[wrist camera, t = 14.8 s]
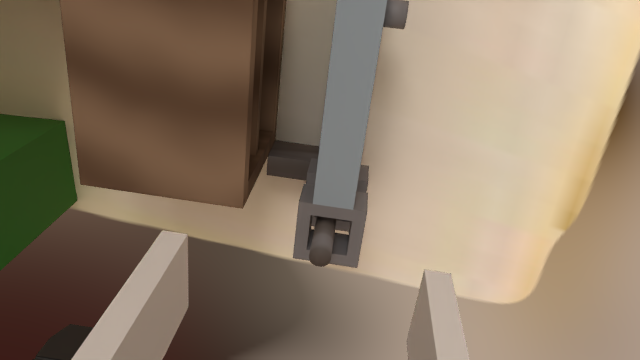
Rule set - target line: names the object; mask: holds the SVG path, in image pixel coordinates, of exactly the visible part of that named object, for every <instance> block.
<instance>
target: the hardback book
mask: <svg viewBox="0 0 640 360" xmlns="http://www.w3.org/2000/svg"><path fill="white" fill-rule="evenodd" d="M76 201H77V195H76V189H75V183H74V177H73V170H72V164H71V158H70V152H69V146H68V140H67V134H66V127H65V121H61V120H52V119H42V118H33V117H23V116H13V115H4V114H0V270H1V269H3V268H4V267H5V266H6V265H7V264H8V263H9V262H10V261H11V260H12V259H13V258H15V257H16V256H17V255H18V254H19V253H20V252H21V251H22V250H23V249H24V248H26V247H27V246H28V245H29V244H30V243H31V242H32V241H33V240H34V239H36V238H37V236H39V235H40V234H41V233H42V232H43V231H44V230H45V229H46V228H48V227H49V226H50V225H51V224H52V223H53V222H54V221H55V220H56V219H57V218H59V217H60V216H61V215H62V214H63V213H64V212H65V211H66V210H67V209H68V208H70V207H71V206H72V205H73V204H74V203H75V202H76Z"/></svg>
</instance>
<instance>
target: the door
mask: <svg viewBox="0 0 640 360" xmlns="http://www.w3.org/2000/svg"><path fill="white" fill-rule="evenodd" d="M408 4H409V1H404V0H337V5H336V13H335V22H334V30H333V38H332V47H331V55H330V63H329V72H328V80H327V89H326V97H325V105H324V114H323V122H322V130H321V139H320V147H319V155H318V159H315V158H311V161H310V165H309V168H308V172H307V180H306V184H304V186H303V189H302V193H301V196H300V200H299V206H298V215H297V225H296V234H295V244H294V253H293V258H296V259H302V260H309V253H310V248H311V243H312V238H313V233H314V230H313V229H311V226H314V227H315V224H316V219H317V216H321V217H327V218H334V219H336V226H335V230H341V231H348V232H349V235H346V234H340V233H334V241H333V248H332V255H331V261H330V263H329V264H335V265H342V266H349V267H355V268H357V266H358V261H359V255H360V249H361V244H362V238H363V232H364V227H365V221H366V215H367V200H368V193H366V191H367V185H368V171H369V166H364V165H361V159H362V153H363V147H364V140H365V134H366V128H367V122H368V116H369V110H370V103H371V97H372V91H373V85H374V79H375V73H376V66H377V60H378V54H379V48H380V42H381V36H382V29H383V27H390V28H397V29H404V27H405V23H406V18H407V12H408ZM309 261H310V260H309Z"/></svg>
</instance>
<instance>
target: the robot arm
mask: <svg viewBox="0 0 640 360" xmlns="http://www.w3.org/2000/svg"><path fill="white" fill-rule="evenodd" d="M187 308H188V234H183V233H176V232H170V231H163V230H162V231H161V233H160V234H159V236H158V237H157V239H156V240H155V242H154V243H153V244H152V246H151V247H150V249H149V250H148V251H147V253H146V254H145V256H144V257H143V258H142V260H141V261H140V263H139V264H138V266H137V267H136V268H135V270H134V271H133V273H132V274H131V276H130V277H129V278H128V280H127V281H126V283H125V284H124V285H123V287H122V288H121V290H120V291H119V293H118V294H117V296H116V297H115V298H114V300H113V301H112V302H111V304H110V305H109V307H108V308H107V310H106V311H105V312H104V314H103V315H102V317H101V318H100V320H99V321H98V322H97V324H96V325H95V327H94V328H92V327H85V326H79V325H72V324H70V325H68V326H67V327H65V328H64V329H62V330H61V331H59V332H58V333H57V334H55V335H54V336H52V337H51V338H50V339H49V340H48V341H47V342H46V344H45V345H44V346H43V347H42V349H41V350H40V351H39V352H38V354H37V355H36V358H35V359H33V360H162V359H163V357H164V355H165V353H166V351H167V349H168V347H169V345H170V343H171V341H172V339H173V337H174V335H175V333H176V331H177V329H178V327H179V325H180V323H181V321H182V319H183V317H184V315H185V313H186V310H187ZM407 351H408V360H470V359H469V355H468V350H467V345H466V341H465V336H464V331H463V327H462V322H461V317H460V313H459V308H458V304H457V299H456V294H455V290H454V285H453V280H452V276H451V273H445V272H438V271H431V270H425V269H424V273H423V277H422V281H421V285H420V289H419V294H418V297H417V301H416V305H415V310H414V313H413V317H412V322H411V326H410V329H409V333H408V338H407Z"/></svg>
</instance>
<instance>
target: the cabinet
mask: <svg viewBox="0 0 640 360" xmlns="http://www.w3.org/2000/svg"><path fill="white" fill-rule="evenodd" d="M60 7H61V16H62V25H63V34H64V42H65V51H66V60H67V69H68V78H69V87H70V96H71V104H72V113H73V122H74V131H75V140H76V149H77V158H78V167H79V175H80V184H81V185H87V186H94V187H101V188H108V189H114V190H121V191H128V192H135V193H141V194H148V195H155V196H162V197H168V198H175V199H182V200H188V201H195V202H202V203H209V204H215V205H222V206H229V207H236V208H242V209H243V207H244V205H245V203H246V201H247V199H248V197H249V194H250V192H251V190H252V188H253V186H254V184H255V182H256V180H257V178H258V176H259V173H260V171H261V169H262V167H263V165H264V163H265V161H266V159H267V157H268V163H267V175H272V176H279V177H286V178H292V179H299V180H307V172H308V168H309V165H310V161H311V158H315V159H318V155H319V147H318V146H311V145H304V144H297V143H290V142H283V141H276V140H275V137H276V125H277V112H278V99H279V86H280V73H281V61H282V48H283V35H284V22H285V9H286V0H60ZM335 226H336V219H334V218H327V217H321V216H317V219H316V224H315V229H314V233H313V238H312V243H311V248H310V253H309V260H310V262H311V263H312V264H314V265H316V266H320V267H322V266H326V265H327V264H329V263H330V261H331V255H332V248H333V241H334V233H335Z"/></svg>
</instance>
